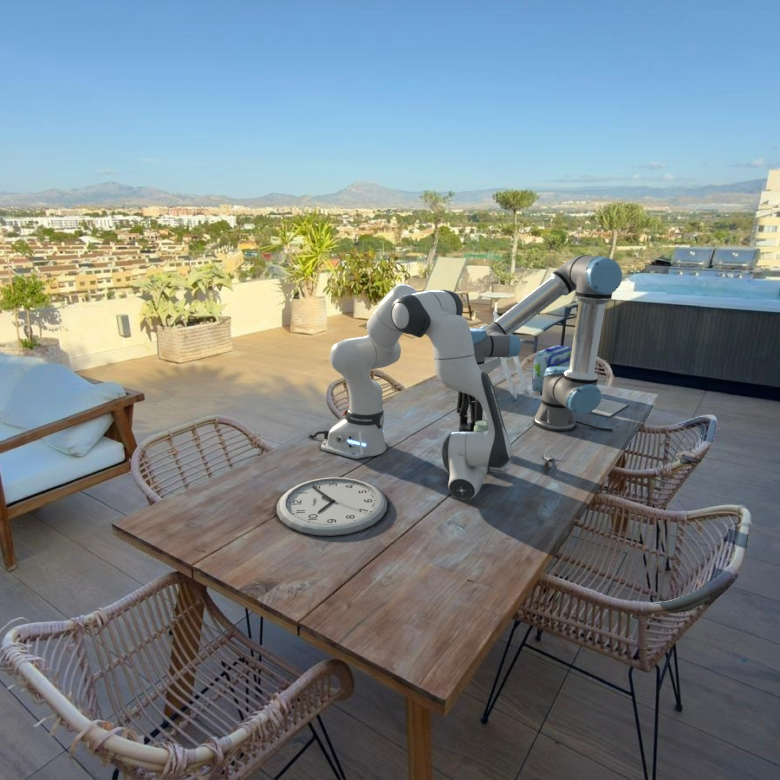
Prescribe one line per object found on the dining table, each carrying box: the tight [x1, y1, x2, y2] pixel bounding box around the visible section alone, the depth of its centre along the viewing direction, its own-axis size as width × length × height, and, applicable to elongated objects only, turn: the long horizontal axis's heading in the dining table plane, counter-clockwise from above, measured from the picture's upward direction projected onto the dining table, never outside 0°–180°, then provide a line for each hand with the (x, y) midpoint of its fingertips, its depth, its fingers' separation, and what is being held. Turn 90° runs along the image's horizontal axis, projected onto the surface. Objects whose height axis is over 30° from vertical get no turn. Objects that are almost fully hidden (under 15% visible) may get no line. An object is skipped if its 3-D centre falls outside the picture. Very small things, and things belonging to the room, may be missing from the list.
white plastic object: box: [484, 310, 531, 400], centre depth 245 cm, size 37×45×31 cm
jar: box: [474, 420, 488, 432], centre depth 165 cm, size 5×5×15 cm
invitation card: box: [591, 398, 629, 418], centre depth 226 cm, size 21×1×15 cm
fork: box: [543, 448, 554, 473], centre depth 170 cm, size 3×16×2 cm, turn 160°
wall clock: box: [276, 476, 388, 537], centre depth 142 cm, size 30×2×30 cm
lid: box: [458, 422, 471, 432], centre depth 184 cm, size 6×6×2 cm
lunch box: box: [531, 345, 572, 393], centre depth 245 cm, size 26×11×21 cm, turn 134°
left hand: (481, 448), depth 166 cm, fingers closed on jar, 5 cm apart
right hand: (467, 437), depth 185 cm, fingers closed on lid, 6 cm apart
